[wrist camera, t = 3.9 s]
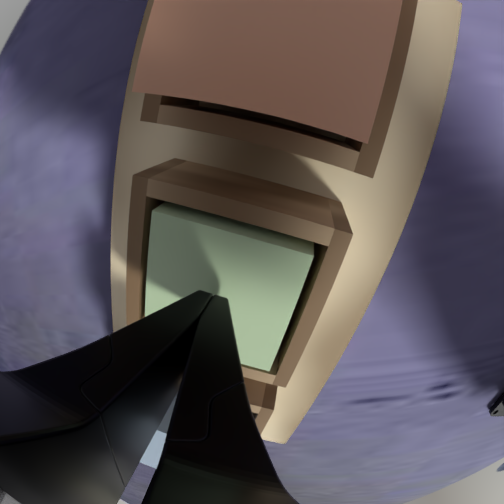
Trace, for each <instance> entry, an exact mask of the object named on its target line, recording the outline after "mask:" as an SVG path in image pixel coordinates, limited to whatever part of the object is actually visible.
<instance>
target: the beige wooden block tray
mask: <svg viewBox="0 0 504 504" xmlns="http://www.w3.org/2000/svg"><path fill="white" fill-rule="evenodd" d="M153 3H154V0H148V2H147V6H146V9H145V12H144V16H143V19H142V23H141V27H140V30H139V34H138V38H137V42H136V46H135V50H134V55H133V59H132V63H131V68H130V73H129V78H128V83H127V88H126V93H125V99H124V105H123V111H122V117H121V124H120V131H119V138H118V146H117V155H116V165H115V175H114V187H113V202H112V221H111V301H112V321H113V332H115V331H117V330H119V329H121V328H123V327H125V326H127V325H130V324H132V323H134V322H136V321H138V320H140V319H142V318H144V317H145V297H146V277H147V262H148V248H149V236H150V226H151V216H152V210H154V209H155V208H157V207H158V206H159V205H161V204H162V203H164V202H165V201H167V202H171V203H175V204H179V205H183V206H186V207H190V208H194V209H198V210H201V211H205V212H209V213H213V214H216V215H220V216H224V217H227V218H231V219H235V220H238V221H242V222H245V223H249V224H253V225H256V226H260V227H263V228H267V229H270V230H274V231H277V232H281V233H284V234H288V235H291V236H295V237H298V238H302V239H305V240H308V241H312V242H313V243H314V257H313V260H312V263H311V266H310V268H309V271H308V274H307V277H306V279H305V282H304V285H303V287H302V290H301V293H300V295H299V298H298V301H297V303H296V306H295V309H294V311H293V314H292V316H291V319H290V322H289V324H288V327H287V329H286V332H285V334H284V337H283V339H282V342H281V344H280V347H279V349H278V352H277V354H276V356H275V359H274V361H273V364H272V366H271V369H270V371H266V370H262V369H258V368H255V367H251V366H248V365H244V364H241V367H242V372H243V377H244V383H245V385H246V390H247V395H248V399H249V403H250V406H251V410H252V413H253V416H254V419H255V422H256V425H257V428H258V430H259V433H260V435H261V438H262V439H263V440H268V441H272V442H277V443H282V444H285V443H286V442H287V440H288V439H289V438H290V436H291V435H292V433H293V432H294V430H295V429H296V428H297V426H298V425H299V423H300V422H301V420H302V419H303V417H304V416H305V414H306V413H307V411H308V410H309V408H310V407H311V405H312V404H313V402H314V400H315V399H316V397H317V396H318V394H319V393H320V391H321V389H322V388H323V386H324V385H325V383H326V381H327V380H328V378H329V376H330V375H331V373H332V371H333V370H334V368H335V366H336V364H337V363H338V361H339V359H340V358H341V356H342V354H343V352H344V351H345V349H346V347H347V345H348V343H349V342H350V340H351V338H352V336H353V334H354V332H355V331H356V329H357V327H358V325H359V323H360V321H361V319H362V317H363V315H364V313H365V311H366V309H367V307H368V305H369V303H370V301H371V299H372V297H373V295H374V293H375V291H376V289H377V287H378V285H379V283H380V281H381V279H382V276H383V274H384V272H385V270H386V268H387V266H388V263H389V261H390V259H391V257H392V254H393V252H394V250H395V247H396V245H397V243H398V240H399V238H400V235H401V233H402V231H403V228H404V226H405V223H406V221H407V218H408V216H409V213H410V210H411V208H412V205H413V202H414V200H415V197H416V194H417V192H418V189H419V186H420V183H421V180H422V177H423V174H424V171H425V168H426V165H427V162H428V159H429V156H430V153H431V150H432V146H433V143H434V140H435V136H436V133H437V129H438V126H439V122H440V118H441V115H442V111H443V107H444V103H445V99H446V95H447V90H448V86H449V82H450V77H451V72H452V67H453V62H454V57H455V51H456V45H457V39H458V33H459V26H460V18H461V10H462V3H460V2H458V1H456V0H403V1H402V7H401V12H400V17H399V22H398V27H397V32H396V36H395V41H394V45H393V50H392V54H391V59H390V63H389V67H388V71H387V75H386V79H385V83H384V87H383V91H382V95H381V99H380V102H379V106H378V110H377V113H376V117H375V120H374V124H373V127H372V131H371V134H370V138H369V141H368V144H366V143H363V142H360V141H357V140H354V139H351V138H348V137H345V136H342V135H339V134H336V133H333V132H330V131H327V130H323V129H320V128H317V127H313V126H310V125H306V124H303V123H299V122H295V121H292V120H288V119H284V118H280V117H276V116H272V115H268V114H264V113H259V112H255V111H250V110H246V109H241V108H236V107H232V106H226V105H221V104H216V103H210V102H205V101H199V100H193V99H186V98H179V97H172V96H165V95H157V94H148V93H139V92H132V88H133V83H134V78H135V73H136V68H137V64H138V59H139V55H140V51H141V46H142V42H143V38H144V35H145V31H146V27H147V23H148V20H149V16H150V13H151V9H152V6H153Z"/></svg>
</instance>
